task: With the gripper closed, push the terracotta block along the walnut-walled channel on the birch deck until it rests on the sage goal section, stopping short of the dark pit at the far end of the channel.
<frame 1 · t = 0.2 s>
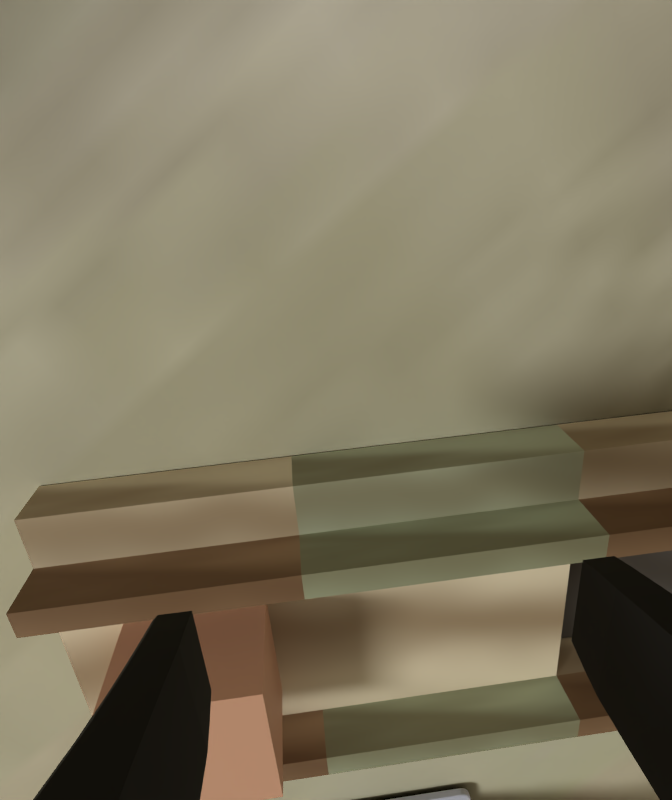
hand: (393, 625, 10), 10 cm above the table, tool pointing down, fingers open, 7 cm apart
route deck: (439, 583, 23), on the table
block terracotta: (208, 654, 21), point 2 cm above the table, touching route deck
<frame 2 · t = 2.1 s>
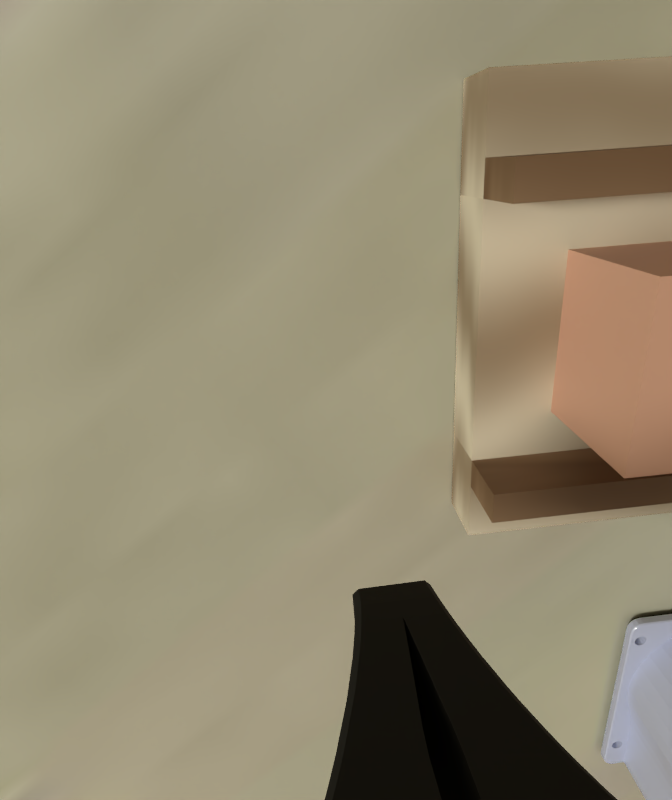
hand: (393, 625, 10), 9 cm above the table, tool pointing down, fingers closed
block terracotta: (639, 328, 16), point 2 cm above the table, touching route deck
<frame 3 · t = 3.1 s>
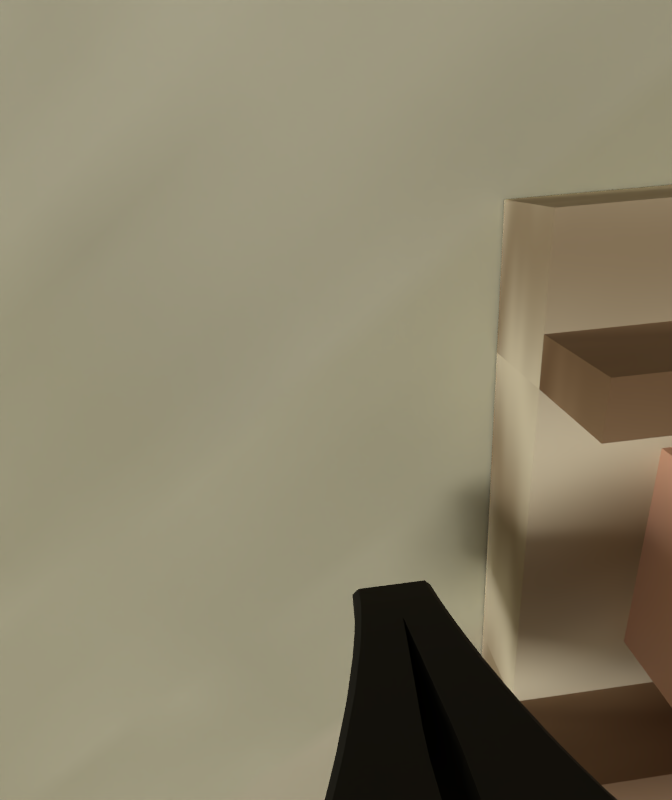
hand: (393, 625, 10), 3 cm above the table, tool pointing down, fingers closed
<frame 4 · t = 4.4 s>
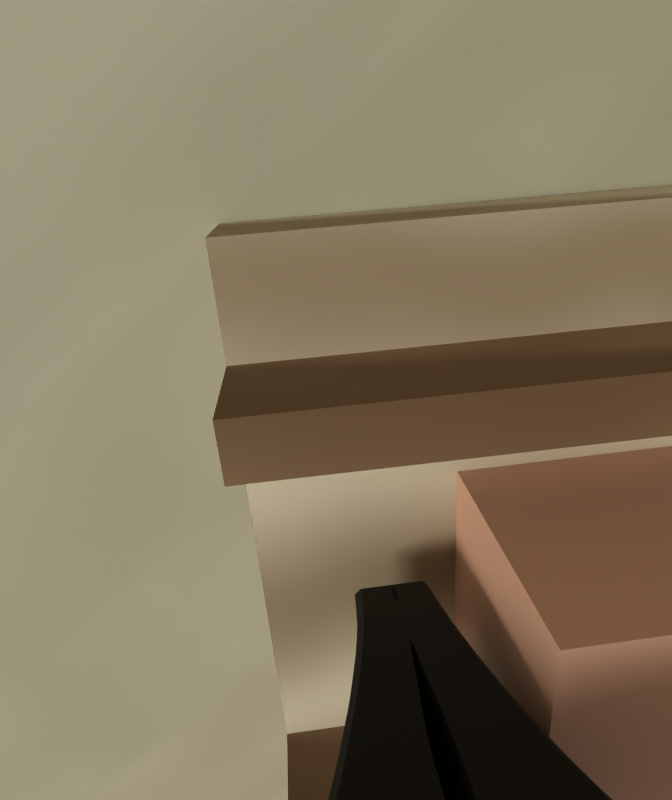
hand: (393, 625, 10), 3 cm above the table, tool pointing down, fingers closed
block terracotta: (574, 561, 11), point 2 cm above the table, touching gripper
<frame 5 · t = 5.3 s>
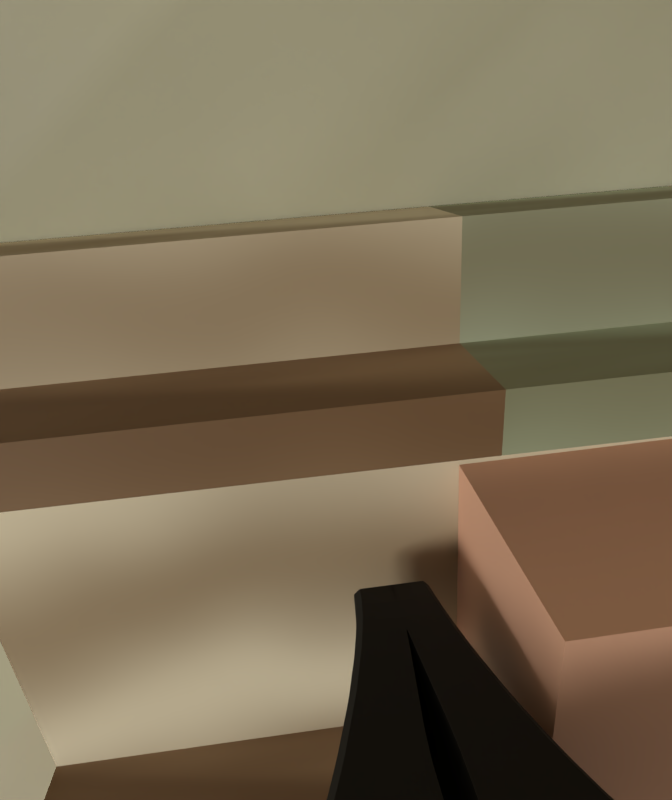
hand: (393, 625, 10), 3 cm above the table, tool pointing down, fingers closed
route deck: (651, 492, 13), on the table
block terracotta: (577, 555, 11), point 2 cm above the table, touching gripper, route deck
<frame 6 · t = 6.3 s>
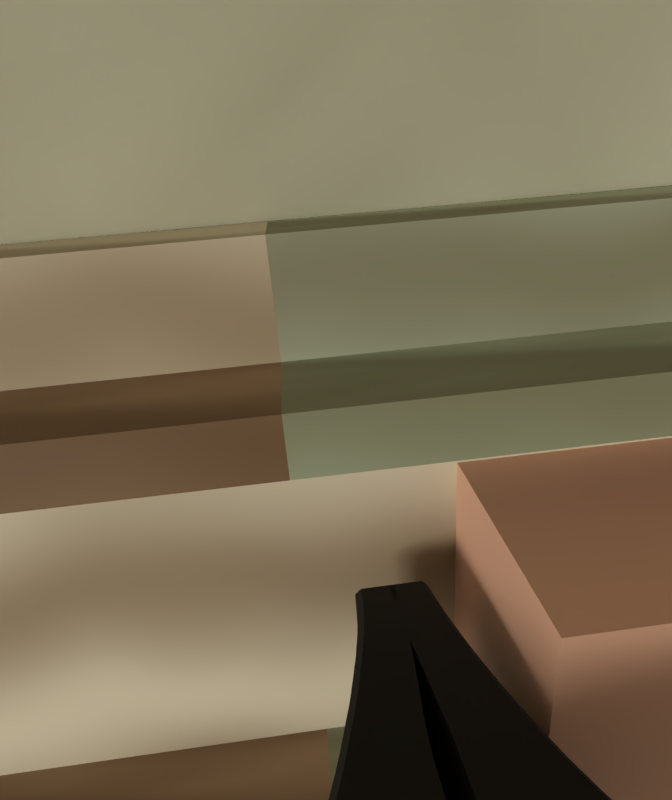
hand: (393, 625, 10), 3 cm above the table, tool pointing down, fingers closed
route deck: (533, 506, 13), on the table
block terracotta: (575, 554, 11), point 2 cm above the table, touching gripper, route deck
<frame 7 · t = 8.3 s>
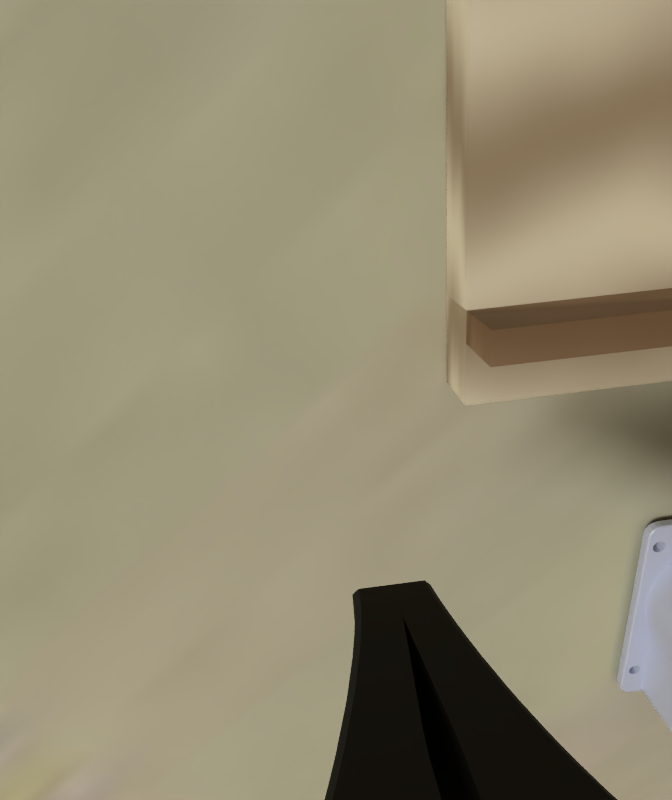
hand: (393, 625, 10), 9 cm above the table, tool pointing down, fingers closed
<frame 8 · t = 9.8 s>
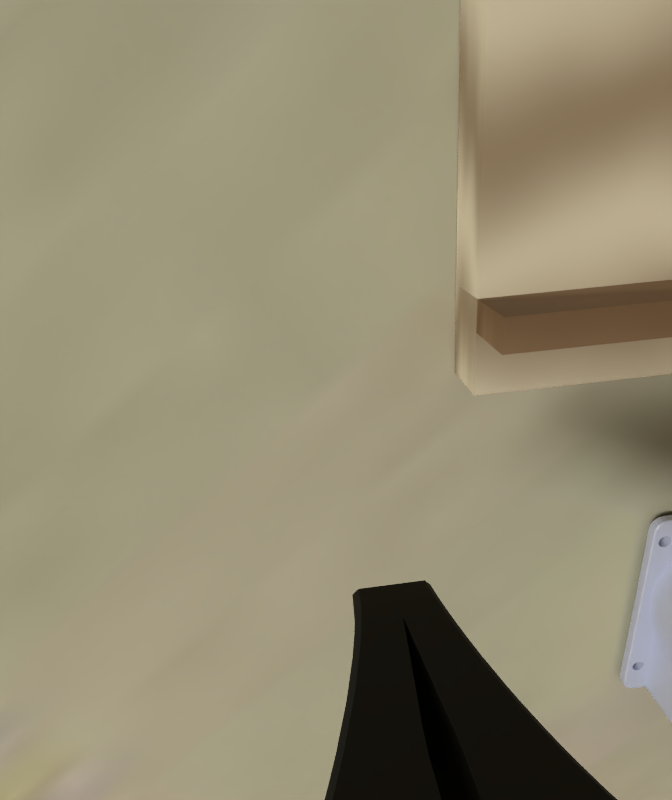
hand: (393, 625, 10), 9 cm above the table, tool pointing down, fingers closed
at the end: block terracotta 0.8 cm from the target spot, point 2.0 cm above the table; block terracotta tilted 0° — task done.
